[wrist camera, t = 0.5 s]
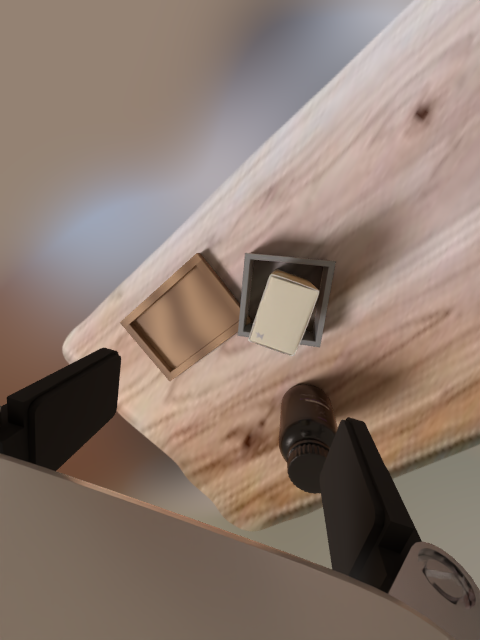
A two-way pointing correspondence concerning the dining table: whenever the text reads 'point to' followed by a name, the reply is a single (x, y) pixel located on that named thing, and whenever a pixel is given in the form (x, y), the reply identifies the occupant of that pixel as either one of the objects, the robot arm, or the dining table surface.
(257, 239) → the dining table surface
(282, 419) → the supplement bottle
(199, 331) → the tray
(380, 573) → the robot arm
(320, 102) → the dining table surface
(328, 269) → the holder
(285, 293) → the skincare box
